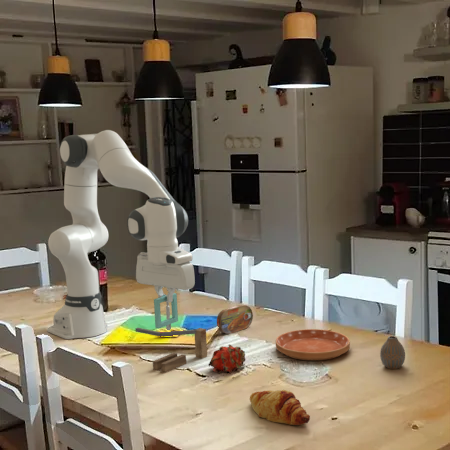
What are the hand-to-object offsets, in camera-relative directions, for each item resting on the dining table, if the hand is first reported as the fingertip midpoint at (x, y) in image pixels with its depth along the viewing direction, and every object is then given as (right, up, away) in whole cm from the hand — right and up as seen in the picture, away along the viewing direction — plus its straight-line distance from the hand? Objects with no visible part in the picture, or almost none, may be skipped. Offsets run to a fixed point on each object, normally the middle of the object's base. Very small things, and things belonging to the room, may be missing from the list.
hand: (165, 301), depth 200 cm
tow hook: (-1, -16, +39) cm, 42 cm away
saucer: (+44, -17, +14) cm, 50 cm away
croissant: (+30, -25, -32) cm, 51 cm away
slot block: (+1, -20, +3) cm, 21 cm away
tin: (+21, -15, +39) cm, 47 cm away
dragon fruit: (+18, -21, -1) cm, 27 cm away
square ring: (0, -7, +1) cm, 7 cm away
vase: (+65, -19, -3) cm, 68 cm away
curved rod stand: (+2, -19, +13) cm, 23 cm away
